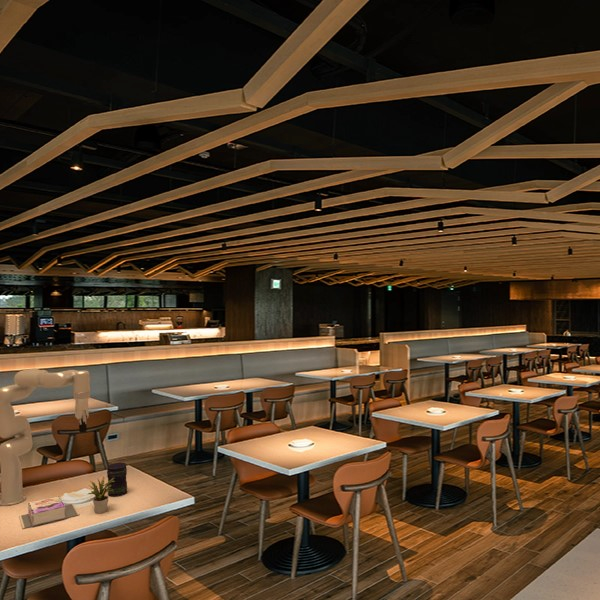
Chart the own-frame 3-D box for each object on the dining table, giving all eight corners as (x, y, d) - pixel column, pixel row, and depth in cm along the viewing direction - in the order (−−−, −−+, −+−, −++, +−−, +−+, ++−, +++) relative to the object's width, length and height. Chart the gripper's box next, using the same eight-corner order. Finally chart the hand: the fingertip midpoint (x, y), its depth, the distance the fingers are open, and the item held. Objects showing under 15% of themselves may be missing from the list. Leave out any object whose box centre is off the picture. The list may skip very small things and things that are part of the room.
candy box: (32, 513, 228) (27, 502, 242) (32, 526, 228) (27, 514, 242) (65, 505, 236) (58, 495, 250) (65, 518, 236) (59, 507, 250)
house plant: (120, 513, 241) (119, 479, 241) (89, 520, 234) (88, 485, 234) (115, 503, 253) (114, 471, 254) (85, 509, 247) (84, 476, 247)
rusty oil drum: (130, 490, 272) (129, 462, 272) (122, 497, 262) (121, 468, 262) (112, 490, 272) (112, 462, 273) (104, 497, 263) (103, 468, 263)
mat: (19, 516, 241) (19, 515, 241) (73, 504, 254) (73, 503, 254) (22, 529, 227) (22, 528, 227) (79, 515, 240) (79, 514, 240)
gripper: (71, 394, 256) (72, 430, 256) (76, 398, 244) (77, 436, 244) (87, 392, 261) (87, 427, 261) (92, 396, 248) (93, 433, 248)
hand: (82, 431), depth 252 cm, fingers closed
